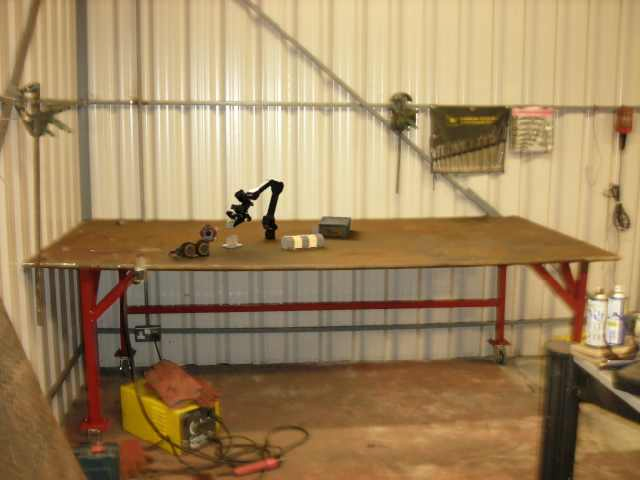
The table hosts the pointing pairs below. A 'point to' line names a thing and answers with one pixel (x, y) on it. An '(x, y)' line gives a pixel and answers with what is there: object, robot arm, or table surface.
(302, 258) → the table surface
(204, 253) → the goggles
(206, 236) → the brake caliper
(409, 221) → the table surface
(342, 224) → the metal box
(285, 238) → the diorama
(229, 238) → the cream stepped block
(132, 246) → the table surface
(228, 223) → the pale green block
